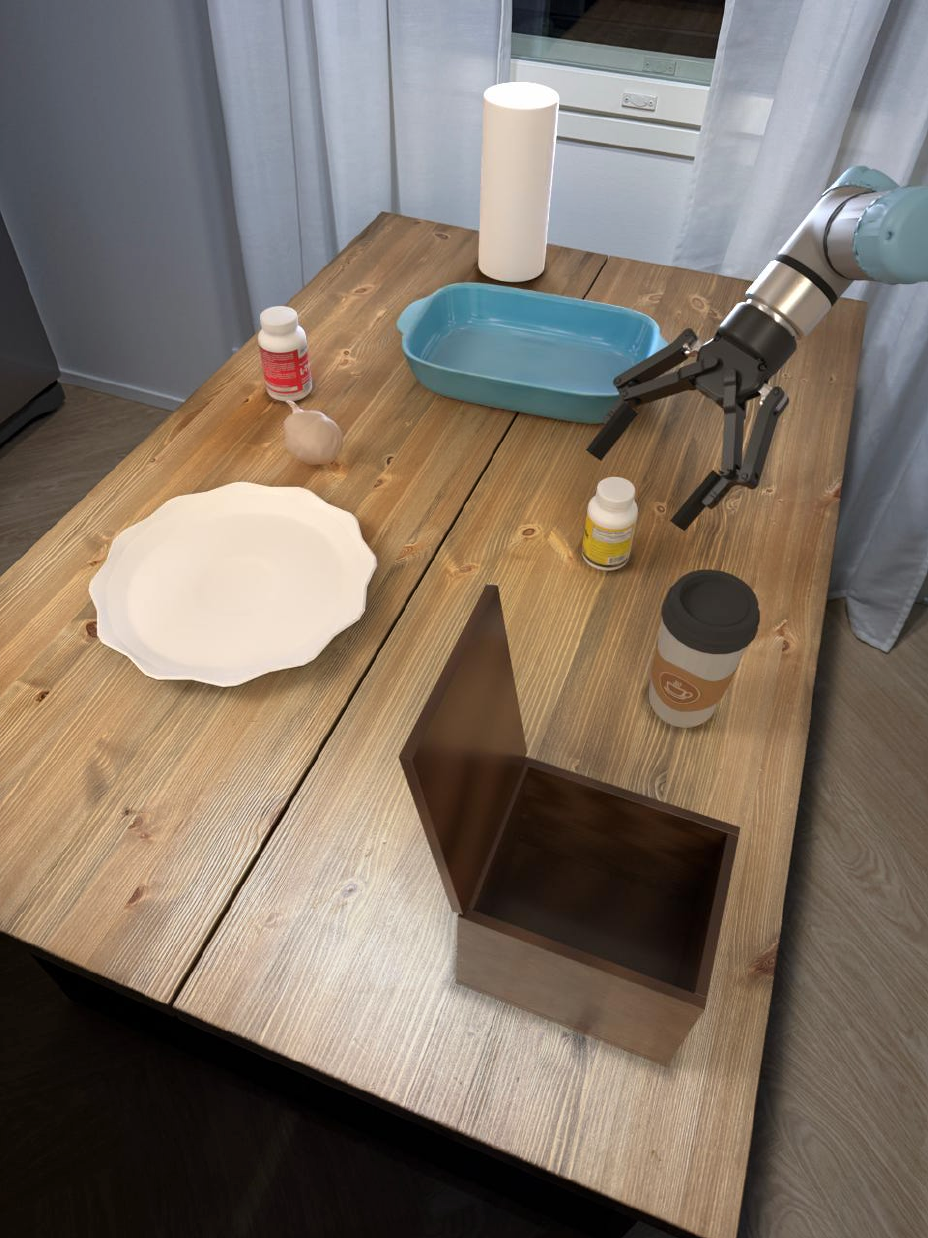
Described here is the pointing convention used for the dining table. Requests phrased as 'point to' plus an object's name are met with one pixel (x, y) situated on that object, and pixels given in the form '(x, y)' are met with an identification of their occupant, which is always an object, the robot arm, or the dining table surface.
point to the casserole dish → (525, 349)
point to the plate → (232, 584)
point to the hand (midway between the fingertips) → (633, 489)
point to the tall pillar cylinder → (516, 179)
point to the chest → (599, 910)
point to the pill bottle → (284, 354)
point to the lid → (467, 750)
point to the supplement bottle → (610, 524)
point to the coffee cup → (700, 644)
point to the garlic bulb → (311, 436)
